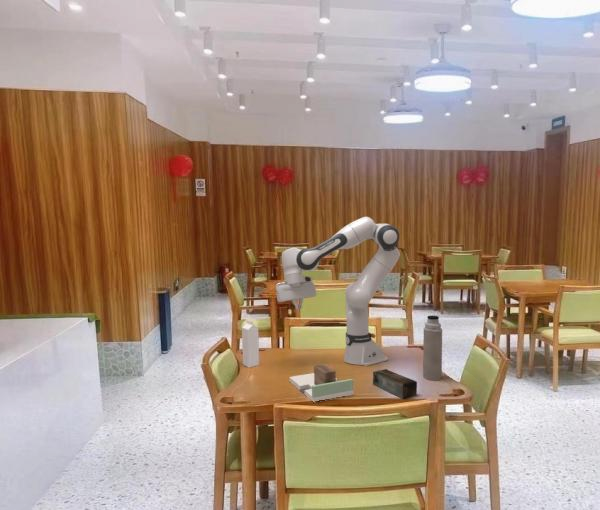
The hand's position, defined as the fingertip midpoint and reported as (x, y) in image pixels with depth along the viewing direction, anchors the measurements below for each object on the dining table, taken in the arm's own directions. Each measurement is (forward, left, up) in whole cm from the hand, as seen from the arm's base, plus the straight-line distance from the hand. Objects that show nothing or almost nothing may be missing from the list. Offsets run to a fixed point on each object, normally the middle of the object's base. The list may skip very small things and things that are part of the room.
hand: (299, 308), depth 215 cm
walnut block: (+3, +34, -26) cm, 43 cm away
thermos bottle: (-48, +40, -29) cm, 69 cm away
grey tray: (+3, +30, -28) cm, 41 cm away
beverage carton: (-24, +44, -29) cm, 58 cm away
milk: (+21, -12, -29) cm, 38 cm away
